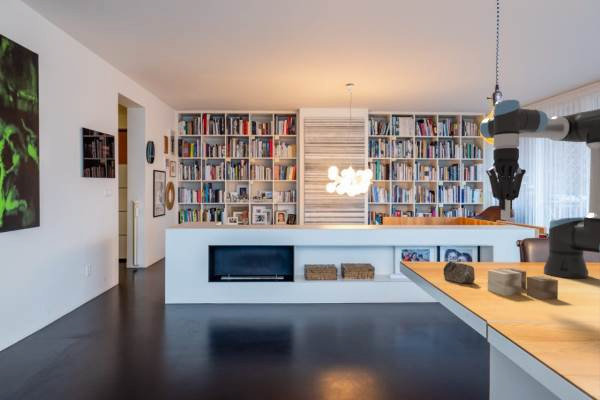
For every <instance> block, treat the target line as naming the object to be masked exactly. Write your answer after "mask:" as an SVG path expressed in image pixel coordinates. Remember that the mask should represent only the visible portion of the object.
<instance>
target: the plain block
mask: <svg viewBox="0 0 600 400" xmlns="http://www.w3.org/2000/svg"><path fill="white" fill-rule="evenodd" d="M506 269H507V268H498V269H488V270H487V291H488V292H490V293H493V294H498V295H500V296H503V297H506V296H515V295H516V296H517V295H522V289H521V279H522V273H519V272H515V271H510V270H506Z"/></svg>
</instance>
